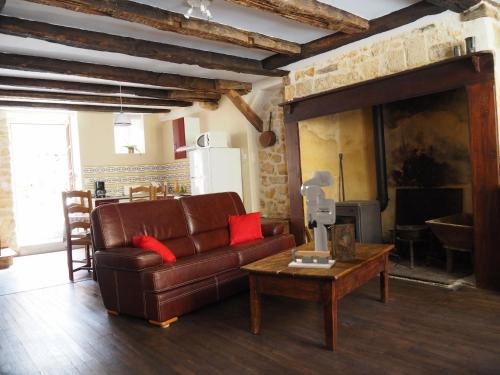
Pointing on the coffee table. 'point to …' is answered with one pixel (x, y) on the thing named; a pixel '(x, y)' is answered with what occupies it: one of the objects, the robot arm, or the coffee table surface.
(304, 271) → the coffee table surface
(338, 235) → the book
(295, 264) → the board
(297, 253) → the tan wooden bar
